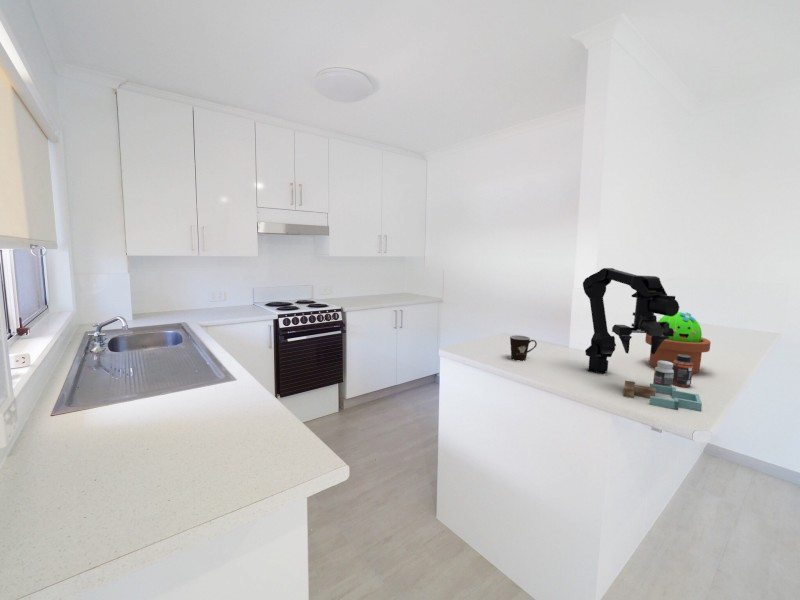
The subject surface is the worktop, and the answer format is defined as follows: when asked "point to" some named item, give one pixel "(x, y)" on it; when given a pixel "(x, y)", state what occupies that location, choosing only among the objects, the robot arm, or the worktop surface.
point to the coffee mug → (520, 347)
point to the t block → (637, 390)
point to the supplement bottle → (682, 371)
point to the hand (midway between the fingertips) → (639, 353)
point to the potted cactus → (681, 341)
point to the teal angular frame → (675, 398)
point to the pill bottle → (663, 374)
